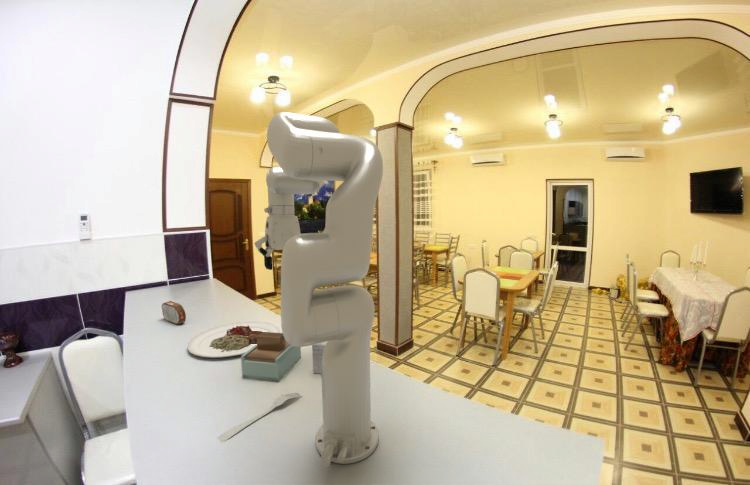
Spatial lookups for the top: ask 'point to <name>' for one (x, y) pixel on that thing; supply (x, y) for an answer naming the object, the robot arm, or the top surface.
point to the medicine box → (317, 356)
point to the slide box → (270, 365)
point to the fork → (238, 428)
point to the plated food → (228, 339)
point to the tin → (173, 312)
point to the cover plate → (268, 347)
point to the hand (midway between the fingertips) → (283, 266)
